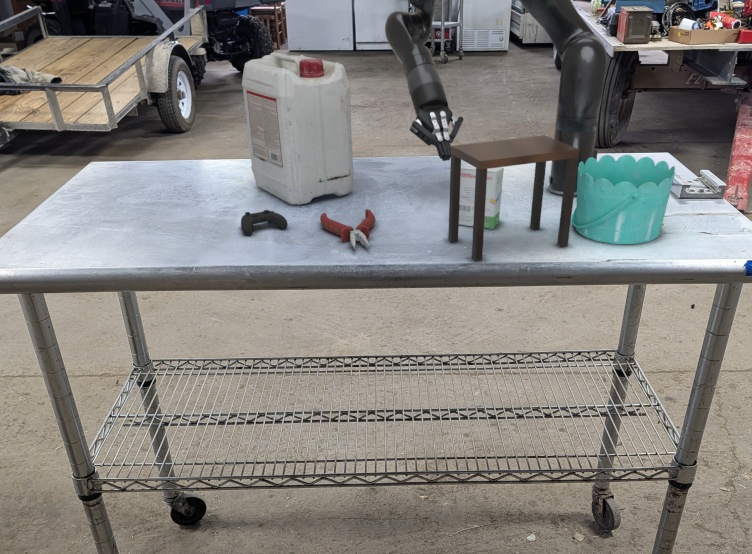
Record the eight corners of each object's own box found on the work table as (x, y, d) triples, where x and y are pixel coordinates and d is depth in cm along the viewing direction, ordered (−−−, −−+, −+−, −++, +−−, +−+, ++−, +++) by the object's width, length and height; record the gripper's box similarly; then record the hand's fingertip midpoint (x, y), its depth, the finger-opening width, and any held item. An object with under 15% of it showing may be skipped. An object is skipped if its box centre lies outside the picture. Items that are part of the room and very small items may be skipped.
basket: (661, 251, 136) (674, 183, 129) (564, 241, 142) (571, 176, 135) (665, 219, 151) (677, 157, 144) (576, 211, 157) (584, 151, 150)
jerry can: (362, 195, 170) (357, 57, 154) (292, 210, 161) (279, 66, 145) (312, 173, 187) (303, 47, 171) (247, 186, 178) (231, 54, 162)
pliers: (332, 256, 137) (332, 243, 135) (319, 223, 153) (318, 211, 152) (391, 251, 139) (391, 238, 137) (371, 218, 155) (371, 207, 154)
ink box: (454, 224, 151) (456, 168, 145) (462, 217, 155) (464, 161, 149) (493, 229, 148) (496, 172, 142) (500, 222, 152) (504, 165, 146)
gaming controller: (245, 233, 146) (236, 207, 147) (241, 245, 151) (233, 220, 152) (289, 225, 150) (280, 199, 151) (284, 237, 155) (276, 212, 156)
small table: (535, 227, 149) (544, 135, 139) (567, 246, 139) (579, 149, 129) (448, 240, 143) (451, 145, 133) (475, 261, 134) (480, 161, 124)
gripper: (403, 82, 157) (424, 152, 154) (458, 78, 161) (480, 146, 158) (395, 103, 164) (415, 171, 161) (447, 99, 168) (468, 164, 165)
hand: (447, 158), depth 159 cm, fingers closed
